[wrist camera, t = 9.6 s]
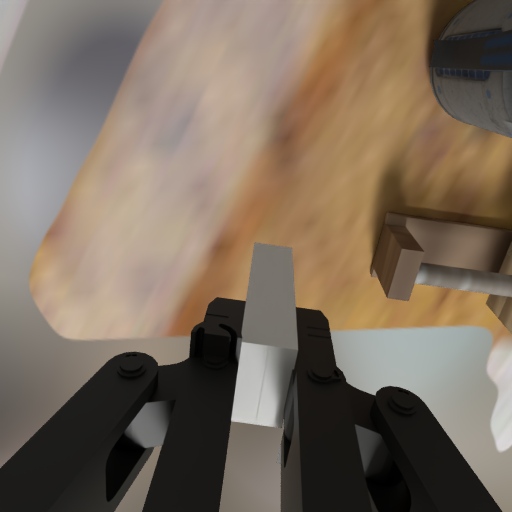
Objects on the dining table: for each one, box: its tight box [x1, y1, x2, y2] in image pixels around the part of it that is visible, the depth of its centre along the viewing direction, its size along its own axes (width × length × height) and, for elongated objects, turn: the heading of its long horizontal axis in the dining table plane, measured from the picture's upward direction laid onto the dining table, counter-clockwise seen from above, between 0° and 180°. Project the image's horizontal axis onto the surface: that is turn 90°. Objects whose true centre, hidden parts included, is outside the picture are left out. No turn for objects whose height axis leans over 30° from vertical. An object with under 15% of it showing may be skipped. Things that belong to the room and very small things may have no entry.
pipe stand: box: [370, 212, 512, 301], centre depth 42 cm, size 22×7×7 cm, turn 82°
